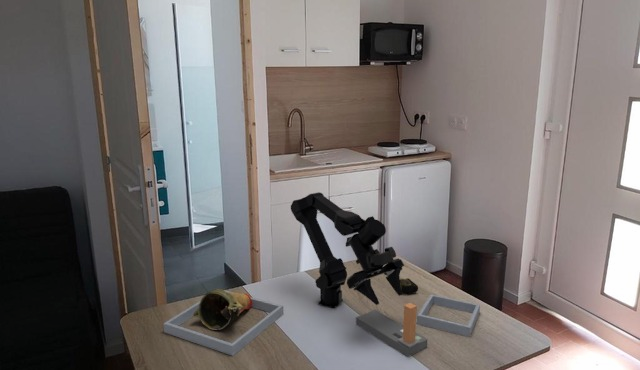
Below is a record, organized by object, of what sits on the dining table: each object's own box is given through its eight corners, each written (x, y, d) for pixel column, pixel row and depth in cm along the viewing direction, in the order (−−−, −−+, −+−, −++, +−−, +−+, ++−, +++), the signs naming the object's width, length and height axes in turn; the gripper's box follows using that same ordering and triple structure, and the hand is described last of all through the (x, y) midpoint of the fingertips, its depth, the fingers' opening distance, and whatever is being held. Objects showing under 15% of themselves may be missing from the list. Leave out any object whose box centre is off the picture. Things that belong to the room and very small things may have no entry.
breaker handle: (397, 340, 132) (398, 304, 129) (408, 335, 135) (409, 300, 132) (409, 347, 129) (410, 311, 126) (420, 342, 131) (422, 306, 129)
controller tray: (416, 323, 146) (417, 315, 145) (430, 302, 160) (431, 294, 159) (469, 337, 139) (470, 327, 138) (479, 313, 152) (480, 304, 152)
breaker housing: (356, 324, 146) (356, 316, 145) (374, 316, 151) (375, 309, 150) (407, 357, 129) (408, 348, 129) (427, 346, 134) (427, 338, 133)
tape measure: (418, 294, 166) (419, 284, 165) (401, 297, 164) (401, 287, 163) (409, 286, 172) (410, 276, 171) (392, 288, 170) (392, 279, 169)
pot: (266, 280, 155) (231, 286, 137) (272, 318, 152) (237, 328, 135) (221, 289, 162) (182, 295, 145) (225, 325, 160) (187, 335, 142)
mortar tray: (164, 332, 142) (163, 323, 141) (220, 296, 164) (219, 289, 164) (232, 355, 130) (232, 346, 129) (283, 314, 152) (283, 305, 152)
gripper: (353, 246, 130) (380, 298, 124) (400, 233, 141) (427, 279, 135) (335, 264, 138) (360, 313, 132) (381, 249, 149) (406, 294, 143)
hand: (389, 299), depth 136 cm, fingers open, 9 cm apart
